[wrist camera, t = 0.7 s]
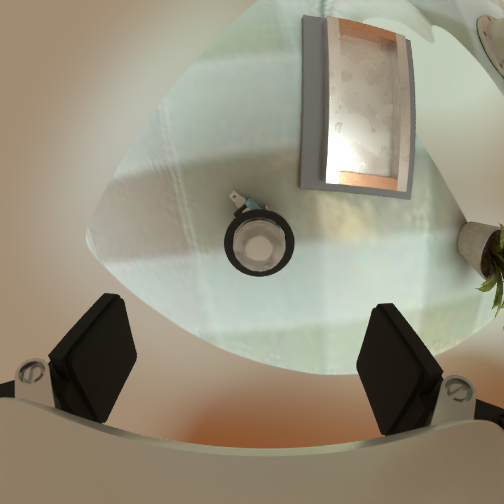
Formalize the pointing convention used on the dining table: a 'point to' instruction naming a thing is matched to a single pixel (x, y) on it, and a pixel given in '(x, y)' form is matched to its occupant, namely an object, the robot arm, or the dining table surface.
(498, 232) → the house plant
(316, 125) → the panel
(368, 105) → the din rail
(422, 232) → the dining table surface
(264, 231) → the round cylindrical fitting
